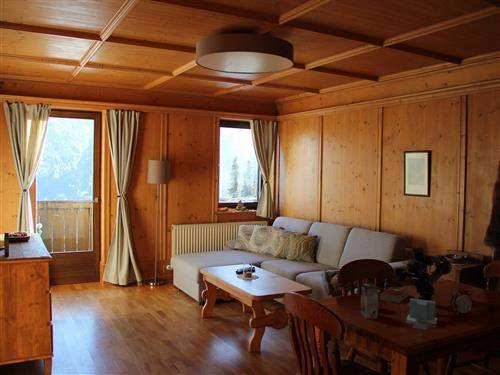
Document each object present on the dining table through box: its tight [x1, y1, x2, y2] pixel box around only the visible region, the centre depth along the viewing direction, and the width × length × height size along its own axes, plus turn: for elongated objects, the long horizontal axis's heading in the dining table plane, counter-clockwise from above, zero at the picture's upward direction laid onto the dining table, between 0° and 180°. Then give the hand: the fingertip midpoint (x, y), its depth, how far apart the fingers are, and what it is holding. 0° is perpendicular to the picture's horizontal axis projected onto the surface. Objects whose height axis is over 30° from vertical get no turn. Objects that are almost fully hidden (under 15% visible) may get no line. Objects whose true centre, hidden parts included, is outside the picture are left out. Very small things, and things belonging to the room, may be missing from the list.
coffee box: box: [360, 282, 379, 319], centre depth 242 cm, size 9×6×16 cm
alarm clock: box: [450, 284, 473, 315], centre depth 249 cm, size 11×5×15 cm, turn 105°
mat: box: [405, 314, 438, 330], centre depth 232 cm, size 21×14×1 cm, turn 156°
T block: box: [408, 298, 436, 323], centre depth 236 cm, size 9×12×9 cm
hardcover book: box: [378, 286, 410, 304], centre depth 278 cm, size 12×21×4 cm, turn 147°
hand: (405, 284), depth 248 cm, fingers open, 9 cm apart
